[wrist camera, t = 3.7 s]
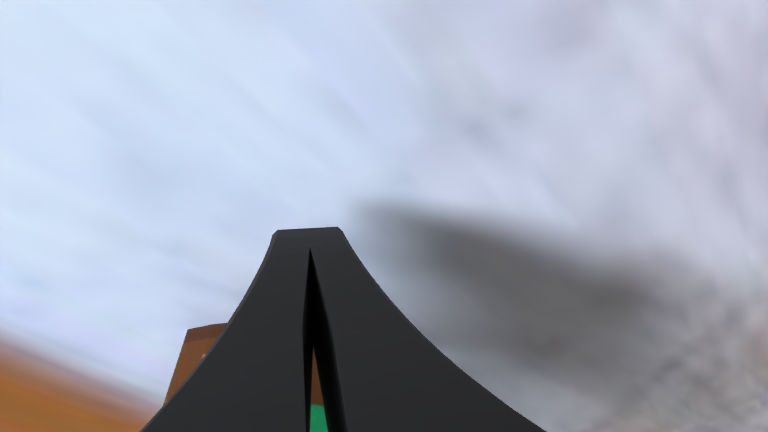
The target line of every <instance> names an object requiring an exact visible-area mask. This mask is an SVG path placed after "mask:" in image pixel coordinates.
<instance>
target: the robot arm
mask: <svg viewBox="0 0 768 432" xmlns="http://www.w3.org/2000/svg"><path fill="white" fill-rule="evenodd" d="M313 347H314V353H315V359H316V365H317V371H318V377H319V382H320V388H321V394H322V400H323V406H324V412H325V418H326V424H327V429H328V432H546V431H544V430H543V429H541V428H540V427H538V426H537V425H535V424H534V423H532V422H531V421H529V420H528V419H527V418H525V417H524V416H522V415H521V414H519V413H518V412H516V411H515V410H513V409H512V408H510V407H509V406H508V405H506V404H505V403H504V402H502V401H501V400H500V399H498V398H497V397H496V396H494V395H493V394H492V393H490V392H489V391H488V390H487V389H485V388H484V387H483V386H481V385H480V384H479V383H477V382H476V381H475V380H473V379H472V378H471V377H470V376H468V375H467V374H466V373H465V372H463V371H462V370H461V369H460V368H459V367H458V366H456V365H455V364H454V363H453V362H452V361H451V360H450V359H448V358H447V357H446V356H445V355H444V354H443V353H441V352H440V351H439V350H438V349H437V348H436V347H435V346H434V345H433V344H432V343H431V342H430V341H429V340H428V339H427V338H426V337H425V336H423V335H422V334H421V333H420V331H419V330H418V329H417V328H416V327H415V326H414V325H413V324H412V323H411V322H410V321H409V320H408V319H407V318H406V317H405V316H404V315H403V314H402V312H401V311H400V310H399V309H398V308H397V307H396V306H395V305H394V303H393V302H392V301H391V300H390V299H389V298H388V296H387V295H386V294H385V293H384V292H383V290H382V289H381V288H380V286H379V285H378V284H377V283H376V281H375V280H374V279H373V277H372V276H371V275H370V274H369V272H368V271H367V269H366V268H365V267H364V265H363V264H362V262H361V261H360V259H359V258H358V256H357V255H356V254H355V252H354V250H353V249H352V247H351V246H350V244H349V242H348V240H347V239H346V237H345V235H344V233H343V231H342V230H341V229H339V228H338V227H326V228H307V229H287V230H277V231H276V232H275V233H274V234H273V235H272V239H271V242H270V245H269V248H268V250H267V253H266V255H265V257H264V260H263V262H262V264H261V266H260V268H259V270H258V272H257V274H256V276H255V278H254V280H253V281H252V283H251V285H250V287H249V289H248V291H247V292H246V294H245V296H244V298H243V299H242V301H241V303H240V304H239V306H238V308H237V309H236V311H235V312H234V314H233V315H232V317H231V318H230V320H229V322H228V323H227V325H226V326H225V328H224V329H223V331H222V332H221V334H220V335H219V337H218V338H217V339H216V341H215V342H214V344H213V345H212V346H211V348H210V349H209V351H208V352H207V353H206V355H205V356H204V357H203V359H202V360H201V361H200V362H199V364H198V365H197V366H196V368H195V369H194V370H193V371H192V373H191V374H190V375H189V376H188V378H187V379H186V380H185V381H184V382H183V384H182V385H181V386H180V387H179V388H178V389H177V391H176V392H175V393H174V394H173V395H172V396H171V398H170V399H169V400H168V401H167V402H166V403H165V405H164V406H163V407H162V408H161V409H160V410H159V411H158V413H157V414H156V415H155V416H154V417H153V418H152V419H151V420H150V421H149V422H148V423H147V425H146V426H145V427H144V428H143V429H142V430H141V431H140V432H310V420H311V394H312V369H313Z"/></svg>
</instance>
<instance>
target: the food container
mask: <svg viewBox="0 0 768 432" xmlns="http://www.w3.org/2000/svg"><path fill="white" fill-rule="evenodd" d="M226 325H227V323H223V324H213V325H208V326H203V327H198V328H194V329H189V330H187V333H186V337H185V340H184V343H183V346H182V349H181V352H180V355H179V358H178V361H177V364H176V367H175V370H174V373H173V376H172V379H171V383H170V386H169V389H168V392H167V395H166V398H165V401H164V404H163V406H164V405H165V403H166V402H167V401H168V400H169V399H170V398H171V396H172V395H173V394H174V393H175V392H176V391H177V389H178V388H179V387H180V386H181V385H182V384H183V382H184V381H185V380H186V379H187V378H188V376H189V375H190V374H191V373H192V371H193V370H194V369H195V368H196V366H197V365H198V364H199V362H200V361H201V360H202V359H203V357H204V356H205V355H206V353H207V352H208V351H209V349H210V348H211V346H212V345H213V344H214V342H215V341H216V339H217V338H218V337H219V335H220V334H221V332H222V331H223V329H224V328H225V326H226ZM310 432H328V429H327V424H326V418H325V412H324V406H323V400H322V394H321V388H320V382H319V377H318V371H317V365H316V359H315V353H314V347H313V369H312V394H311V420H310Z"/></svg>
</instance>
